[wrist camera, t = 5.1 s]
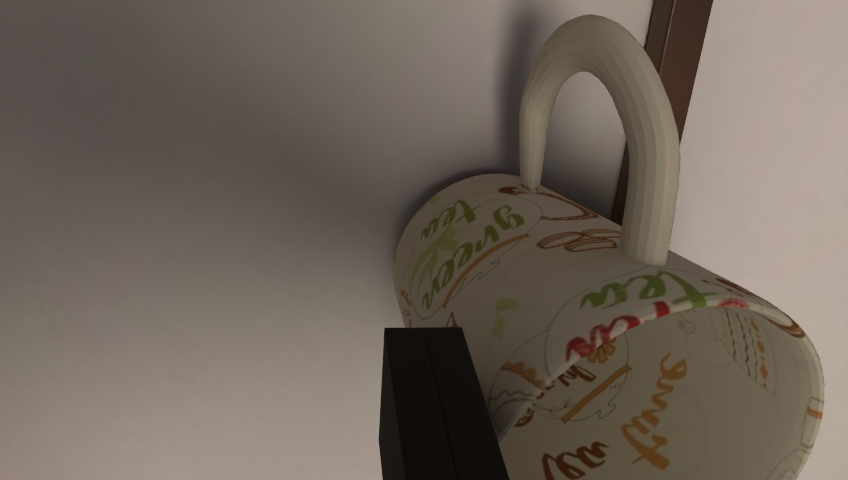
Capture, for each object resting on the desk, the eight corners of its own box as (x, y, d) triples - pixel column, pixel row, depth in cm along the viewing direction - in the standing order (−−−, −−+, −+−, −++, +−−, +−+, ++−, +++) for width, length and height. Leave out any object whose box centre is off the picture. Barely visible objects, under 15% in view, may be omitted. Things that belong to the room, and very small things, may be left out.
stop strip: (668, -72, 20) (687, -69, 19) (707, -69, 20) (729, -66, 19) (577, 389, 27) (588, 410, 26) (608, 388, 27) (619, 408, 26)
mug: (359, 384, 24) (462, 659, 16) (345, -9, 19) (493, 86, 10) (581, 343, 26) (777, 564, 18) (628, -17, 21) (945, 54, 12)
